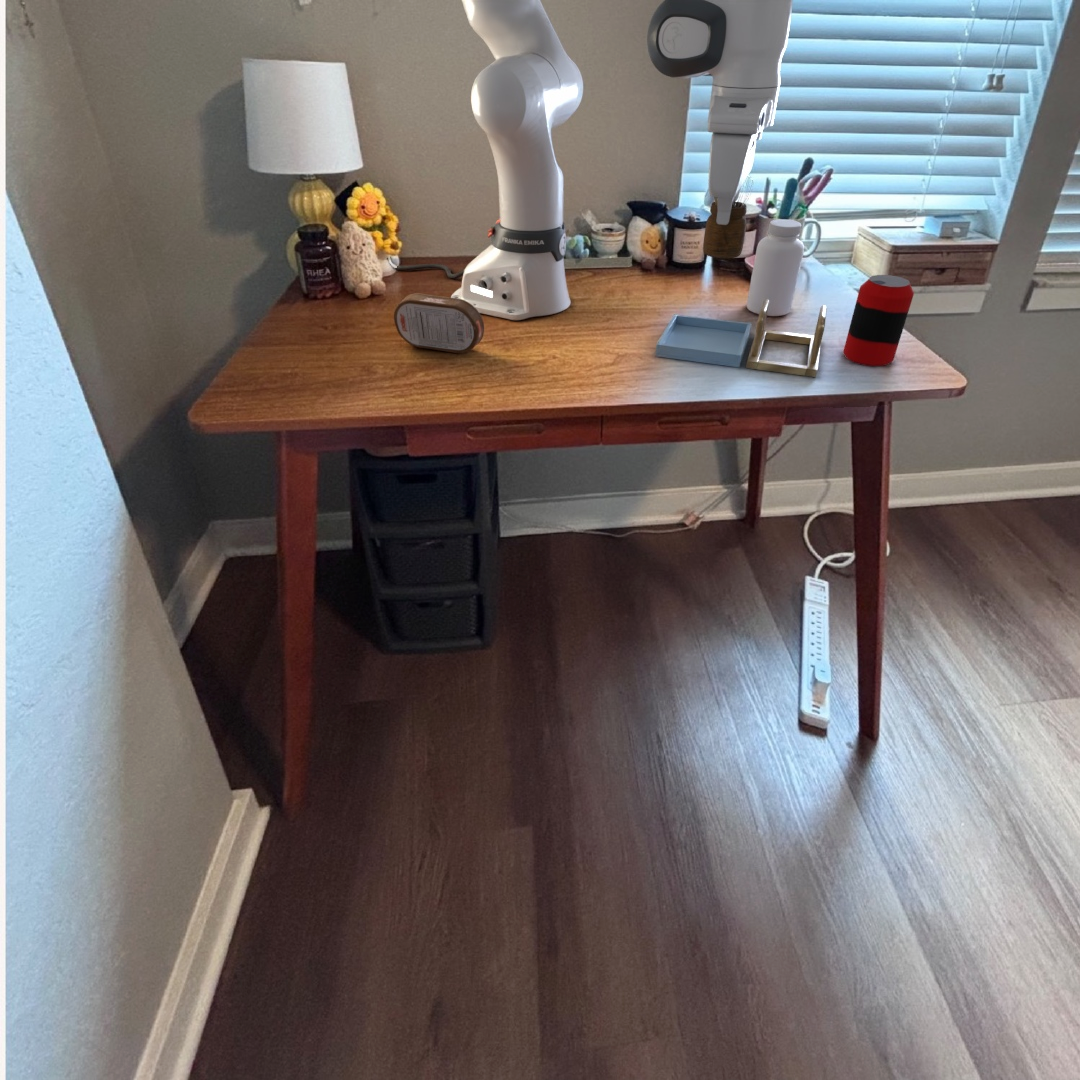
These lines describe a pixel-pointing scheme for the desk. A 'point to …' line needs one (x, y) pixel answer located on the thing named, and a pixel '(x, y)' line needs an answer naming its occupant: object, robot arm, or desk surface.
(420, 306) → the tin
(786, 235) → the pill bottle
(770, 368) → the rack
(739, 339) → the tray
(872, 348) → the soda can
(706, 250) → the utensil holder
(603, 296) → the desk surface
